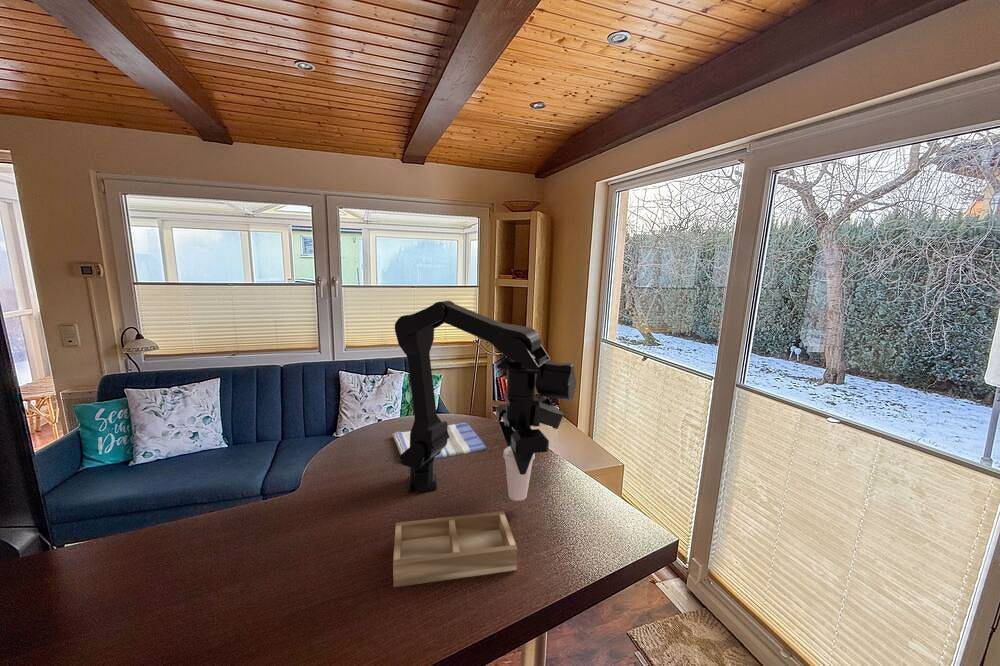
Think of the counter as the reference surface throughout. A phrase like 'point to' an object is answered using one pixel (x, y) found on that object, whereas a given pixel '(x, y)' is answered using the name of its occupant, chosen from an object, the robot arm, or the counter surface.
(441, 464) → the counter surface
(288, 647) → the counter surface
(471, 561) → the tray
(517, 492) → the smoothie
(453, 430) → the dish towel
